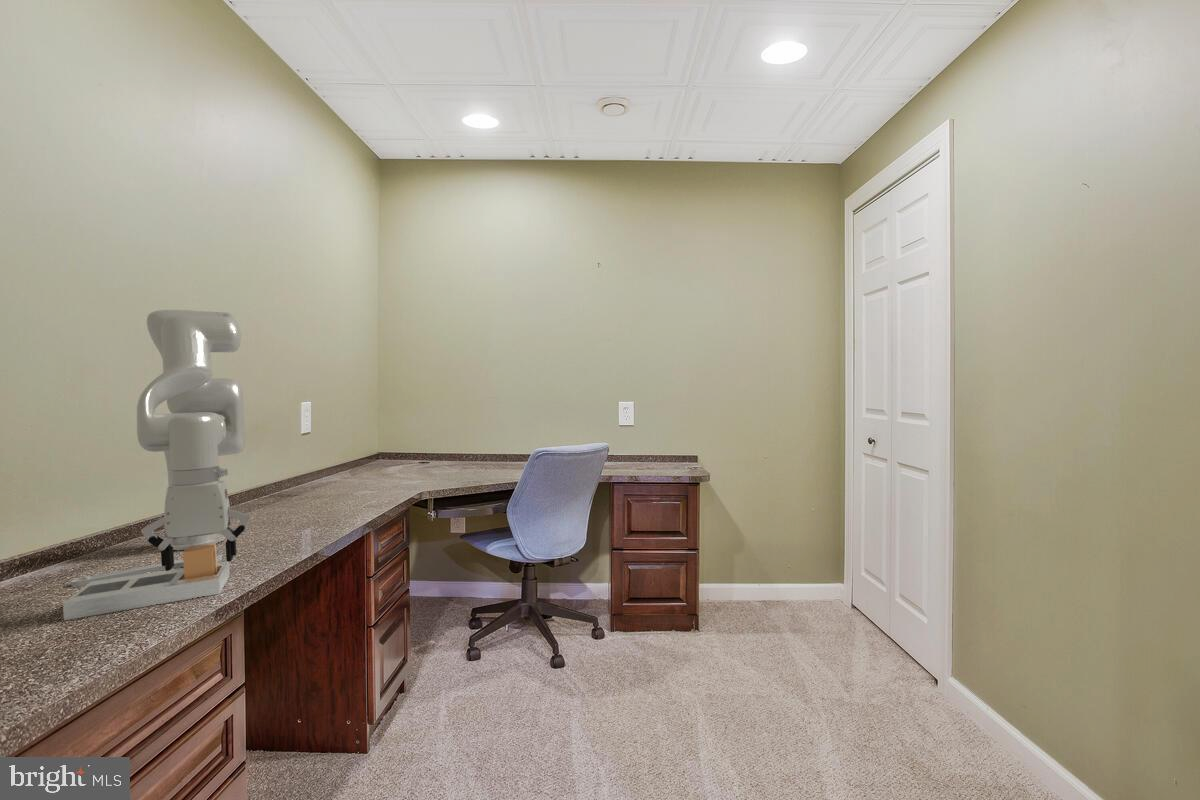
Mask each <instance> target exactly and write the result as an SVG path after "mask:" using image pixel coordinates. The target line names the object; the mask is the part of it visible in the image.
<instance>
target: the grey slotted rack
mask: <svg viewBox="0 0 1200 800" xmlns="http://www.w3.org/2000/svg"><path fill="white" fill-rule="evenodd" d="M216 558H217V563H219V562H218V561H220V560H222V561H223V554H216ZM220 562H221V561H220ZM180 567H184V560H183V558H182V559H179V560H174V567H173V568H176V569H179V568H180ZM159 570H164V571H166V570H165V566H162V563H157V564H150V565H145V566H140V567H134V568H129V569H123V570H117V571H111V572H106V573H102V574H96V575H91V576H90V575H88V576H83V577H79V578H75V579H72V580H70V587H71V586H77V587H81V585H83V586H86V584H88V583H90V582H92V581H99V580H106V579H112V578H119V577H126V576H132V575H138V574H143V573H147V572H154V571H159Z"/></svg>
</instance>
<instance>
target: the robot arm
mask: <svg viewBox="0 0 1200 800" xmlns="http://www.w3.org/2000/svg"><path fill="white" fill-rule="evenodd" d="M146 327H147V331H148V333H149V336H150V338H151V340H152V341H153V344H154V345H155V348H156V349H157V350H158V352H159V354H160V356H161V358H162V373H161V374H160V375H159V376H157V377H156V378H154V379H153V380H152V381H151V382H150V383H149V384H147V386H146V387H145V388H144V390H143V391H142V393H141V394H140V396H139V398H138V401H137V404H136V434H137V435H136V436H137V441H138V443H139V446H140V447H141V448H142V449H143V450H145V451H148V452H152V453H154V452H156V453H157V452H158V453H159V452H163V453H164V458H165V463H166V468H167V469H166V470H167V480H168V486H167V488H166V494H165V500H164V512H163V515H164V516H163V517H161V518H159V519H158V520H156V521H154V522H152V523H150V524H148V525H146V526H145V527H143V528H142V529H141V530H140V532H141V534H142V535H143V536H144V538H145V539H147V542H148V543H149V544H150V545H153V546H154V547H155V548H157V549H158V551H160V559H161V560H160V561H161V563H162V566H165V570H164V571H169V570H172V568H173V567H174V561H175V556H174V555H175V554H174V551H173V550H177V551H185V550H186V549H187V547H191V546H198V545H205V544H212V543H216V544H218V542H219V543H222V542H224V541H225V540H226V542H225V556H226V557H225V558H226V559H225V560H226V561H228V562H229V563H230V562H232V560H233V559H234V557H235V556H237V538H238V537H239V536H240V535H241V534H242V533H243V532H244V531H245V529H246V528H247V526H248V524H249V522H250V520H251V518H252V516H251V514H248V513H245V512H241V511H238V510H235V509H232V508H230V500H229V495H228V490H227V489H228V488H227V485H226V483H225V480H220V479H221V478H222V477H226V476H229V470H228V468H221V467H220V465H219V457H221V456H231V455H232V456H233V455H237V454H240V453H241V452H243V450H244V449H245V446H246V423H245V422H246V421H245V405H244V404H245V403H244V395H243V389H242V386H241V384H240V383H239V381H237V380H235V379H234V378H227V377H224V378H221V377H220V378H217V377H216V378H215V377H214V378H213V367H212V358H211V356H212V355H211V353H235V352H237V351H238V350H239V348H240V346H241V341H242V339H241V337H242V336H241V329H240V326H239V323H238V322H237V319H236V318H235V317H234V316H233V314H232V313H229V312H224V311H223V312H222V311H209V310H208V311H206V310H205V311H203V310H191V309H190V310H188V309H187V310H186V309H160V310H155V311H153V312H150V313H148V315H147V318H146ZM165 401H166V405H167V409H168V411H169V412H170V413H159V414H158V413H157V414H155V410H156V409H157V408H158V406H159V405H161V404H162V403H163V402H165ZM222 417H223V418H224V419H223V418H222ZM232 519H236V520H239V521H240V524H239V525H238V526H237V527H236V528H235V530H234V529H233V528H231V527H230V526H231V523H232ZM162 526H163V531H164V535H165V538H162V537H160V536H159V535H156V533H155V530H157V529H159V528H160V527H162ZM221 541H222V542H221ZM226 561H225V562H226ZM161 563H160V564H161Z"/></svg>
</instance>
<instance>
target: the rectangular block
mask: <svg viewBox="0 0 1200 800" xmlns="http://www.w3.org/2000/svg"><path fill="white" fill-rule="evenodd" d="M216 544H217V543H212V544H205V545H198V546H191V547H187V549H186V550H183V552H182V553H183V554H182V555H183V557H182V559H183V560H184V577H185V579H191V578H197V577H203V576H210V575H216V574H217V563H218V562H217V558H216V556H217V545H216Z"/></svg>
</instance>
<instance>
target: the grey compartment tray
mask: <svg viewBox="0 0 1200 800" xmlns="http://www.w3.org/2000/svg"><path fill="white" fill-rule="evenodd" d="M230 573H231V572H230V562H228V561H220V562H217V574H216V575H210V576H203V577H197V578H191V579H185V577H184V568H176V569H171V570H169V571H166V570H164V571H159V572H152V573H146V574H139V575H132V576H126V577H119V578H112V579H106V580H99V581H92V582H90V583H88V584H87V585H83V587H82V588H80V589H79V590H78V591H76V592H75V593H74V594H73V595H72V596H70V597H69V598H67V599H66V600H65V601H64V602H63V603H62V610H63V611H62V612H63V613H62V614H63V621H64V622H65V621H70V620H76V619H81V618H86V617H93V616H99V615H104V614H111V613H117V612H121V611H127V610H134V609H140V608H146V607H151V605H152V606H156V604H158V605H163V604H168V603H174V602H180V601H181V602H182V601H187V600H192V598H193V599H198V598H197V597H199V598H203V597H202V596H205V597H209V596H216V595H219V594H221V593H222V590H223V589H224V587H225V585H226V583H227V581H228V579H229V578H228V577H230V576H231V574H230ZM229 575H230V576H229ZM222 588H223V589H222Z"/></svg>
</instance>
